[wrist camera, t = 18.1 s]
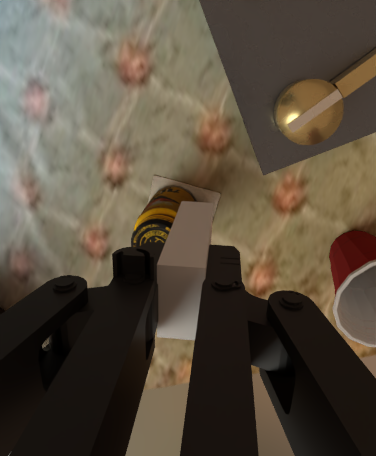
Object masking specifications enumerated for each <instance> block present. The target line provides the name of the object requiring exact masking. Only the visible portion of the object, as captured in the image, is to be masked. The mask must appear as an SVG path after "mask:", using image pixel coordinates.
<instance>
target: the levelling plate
mask: <svg viewBox="0 0 376 456" xmlns="http://www.w3.org/2000/svg"><path fill="white" fill-rule="evenodd" d="M199 1H200V4H201V6H202V9H203V12H204V14H205V17H206V20H207V23H208V25H209V28H210V31H211V34H212V36H213V39H214V42H215V45H216V47H217V50H218V53H219V56H220V58H221V61H222V64H223V66H224V69H225V72H226V75H227V77H228V80H229V83H230V86H231V88H232V91H233V94H234V97H235V99H236V102H237V105H238V108H239V110H240V113H241V116H242V118H243V121H244V124H245V127H246V129H247V132H248V135H249V138H250V140H251V143H252V146H253V149H254V151H255V154H256V157H257V160H258V162H259V165H260V168H261V170H262V173H263V175H266V174H268V173H271V172H273V171H276V170H279V169H281V168H284V167H286V166H289V165H292V164H294V163H297V162H299V161H302V160H305V159H307V158H310V157H312V156H315V155H318V154H320V153H323V152H325V151H328V150H331V149H333V148H336V147H338V146H341V145H344V144H346V143H349V142H351V141H354V140H357V139H359V138H362V137H364V136H367V135H370V134H372V133H375V132H376V76H375V77H373V78H372V79H370V80H369V81H368V82H366V83H365V84H363V85H362V86H360V87H359V88H358V89H356V90H355V91H353V92H352V93H351V94H349V95H348V96H346V97H345V98H342V100H343V106H344V110H343V117H342V120H341V123H340V125H339V126H338V128H337V130H336V131H335V132H334V133H333V134H332V135H331V136H330V137H329V138H328V139H326V140H324V141H322V142H320V143H318V144H314V145H301V144H297V143H294V142H293V141H291V140H290V139H288V138H287V137H286V136H285V135H284V134H283V133H282V132H281V131H280V130H279V129H278V127H277V125H276V123H275V120H274V106H275V103H276V100H277V98H278V96H279V95H280V93H281V92H282V91H283V90H284V89H285V88H286V87H287V86H288V85H290V84H292V83H294V82H296V81H299V80H306V79H320V80H324V81H327V82H331V81H332V80H333V79H335V78H336V77H337V76H339V75H340V74H342V73H343V72H344V71H346V70H347V69H348V68H350V67H351V66H352V65H354V64H355V63H356V62H358V61H359V60H361V59H362V58H363V57H365V56H366V55H367V54H369V53H370V52H371V51H373V50H374V49H376V0H199Z"/></svg>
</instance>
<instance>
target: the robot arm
mask: <svg viewBox="0 0 376 456" xmlns="http://www.w3.org/2000/svg"><path fill="white" fill-rule="evenodd" d="M212 216H213V203H206V202H189V201H182V202H181V204H180V207H179V209H178V212H177V215H176V217H175V220H174V222H173V225H172V227H171V230H170V232H169V235H168V238H167V240H166V243H162V242H146V243H144V244H143V245H141V246H139V247H126V248H122V249H119V250H117V251H115V252H114V253H113V254H112V259H113V276H114V277H113V279H112V281H111V283H110V284H109V285H108V286H104V287H96V288H87V281H86V280H85V279H84V278H81V277H79V276H72V275H67V276H66V275H65V276H60V277H57V278H54V279H52V280H50V281H48V282H46V283H45V284H44V285H42V286H41V287H39V288H38V289H36V290H35V291H34V292H32V293H31V294H29V295H28V296H26V297H25V298H24V299H22V300H21V301H19V302H18V303H16V304H15V305H14V306H12V307H11V308H9V309H8V310H6V311H5V312H4V313H2V314H1V315H0V456H8V455H9V454H10V455H9V456H125V454H126V451H127V447H128V444H129V440H130V436H131V433H132V429H133V425H134V422H135V418H136V414H137V411H138V407H139V403H140V400H141V396H142V392H143V389H144V385H145V381H146V378H147V374H148V370H149V367H150V363H151V359H152V356H153V352H154V348H155V332H156V328H157V337H164V338H175V339H186V340H195V344H194V352H193V359H192V367H191V375H190V382H189V390H188V398H187V406H186V413H185V421H184V428H183V436H182V444H181V451H180V456H258V444H257V432H256V420H255V407H254V395H253V382H252V370H251V365H253V366H256V367H259V371H260V376H261V378H262V380H263V383H264V385H265V387H266V390H267V392H268V394H269V397H270V399H271V401H272V404H273V406H274V408H275V411H276V413H277V415H278V418H279V420H280V422H281V425H282V427H283V429H284V432H285V434H286V436H287V439H288V441H289V443H290V446H291V448H292V450H293V453H294V455H295V456H376V378H375V377H374V376H373V375H372V373H371V372H370V371H369V370H368V368H367V367H366V366H365V365H364V364H363V362H362V361H361V360H360V359H359V357H358V356H357V355H356V354H355V352H354V351H353V350H352V349H351V348H350V346H349V345H348V344H347V343H346V341H345V340H344V339H343V338H342V336H341V335H340V334H339V333H338V332H337V330H336V329H335V328H334V327H333V325H332V324H331V323H330V322H329V320H328V319H327V318H326V317H325V316H324V314H323V313H322V312H321V311H320V309H319V308H318V307H317V306H316V305H315V303H314V302H313V301H312V300H311V299H310V298H308V297H307V296H305V295H303V294H301V293H298V292H294V291H277V292H274V293H273V294H271V295H270V296H269V298H268V300H265V299H261V298H258V297H255V296H253V295H251V294H249V293H248V292H247V291H245V286H244V284H243V282H242V277H241V265H240V252H239V251H238V250H237V249H236V248H235V247H234V246H222V245H211V234H212ZM48 337H49V344H48V345H47V346H46V347H44V348H42V344H43V343H44V341H45V340H46V339H47V338H48ZM11 451H12V452H11Z"/></svg>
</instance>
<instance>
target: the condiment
mask: <svg viewBox="0 0 376 456" xmlns="http://www.w3.org/2000/svg"><path fill="white" fill-rule="evenodd" d="M220 195H221V193H218V192H214V191H210V190H206V189H203V188H199V187H195V186H192V185H189V184H185V183H182V182H178V181H174V180H171V179H167V178H163V177H159V176H155V175H154V177H153V181H152V186H151V191H150V195H149V200H148V204H147V206H146V208H145V209H144V211H143V212H142V214H141V215H140V216H139V217H138V220H137V222H136V224H135V227H134V232H133V234H132V238H131V246H132V247H139V246H141V245H143V244H144V243H146V242H162V243H166V240H167V238H168V235H169V232H170V230H171V227H172V225H173V222H174V220H175V217H176V215H177V212H178V209H179V207H180V204H181V202H182V201H189V202H198V201H199V202H206V203H213V216H212V222H213V218H214V215H215V212H216V208H217V205H218V202H219V198H220Z"/></svg>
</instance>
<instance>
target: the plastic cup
mask: <svg viewBox="0 0 376 456" xmlns="http://www.w3.org/2000/svg"><path fill="white" fill-rule="evenodd" d="M329 258H330V262H331V271H332V276H333V281H334V286H335V301H334V305H333V313H334V316H335V320H336V323H337V327H338V328H339V329H340V330H341V331H342V332H343V333H344V334H345V335H346V336H347V337H348V338H349V339H351V340H353V341H356V342H358V343H360V344H363V345H365V346H368V347H376V237H375V236H373V235H371V234H369V233H367V232H363V231H350V232H346V233H343V234H342V235H341V236H339V237H338V238H336V239H335V241H334V242H333V244H332V245H331V249H330V255H329Z"/></svg>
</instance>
